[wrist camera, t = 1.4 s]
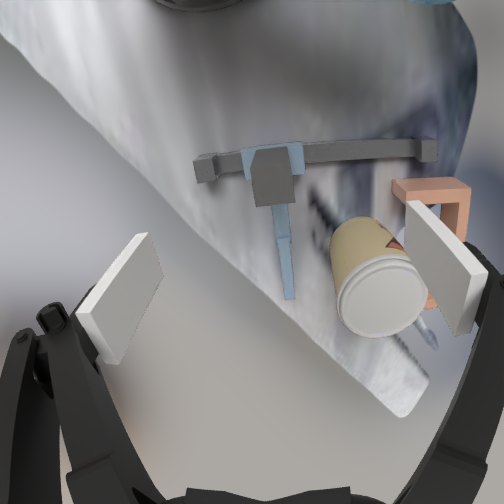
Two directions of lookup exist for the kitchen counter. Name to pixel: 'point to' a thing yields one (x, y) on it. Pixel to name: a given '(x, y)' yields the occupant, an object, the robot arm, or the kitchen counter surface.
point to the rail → (327, 154)
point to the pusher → (276, 193)
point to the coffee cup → (374, 280)
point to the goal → (438, 192)
